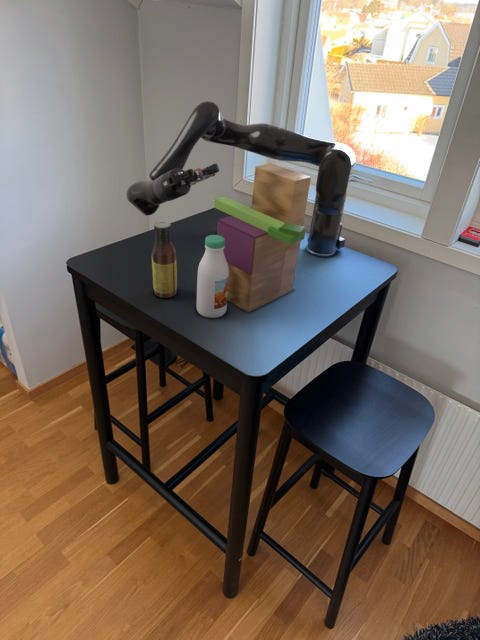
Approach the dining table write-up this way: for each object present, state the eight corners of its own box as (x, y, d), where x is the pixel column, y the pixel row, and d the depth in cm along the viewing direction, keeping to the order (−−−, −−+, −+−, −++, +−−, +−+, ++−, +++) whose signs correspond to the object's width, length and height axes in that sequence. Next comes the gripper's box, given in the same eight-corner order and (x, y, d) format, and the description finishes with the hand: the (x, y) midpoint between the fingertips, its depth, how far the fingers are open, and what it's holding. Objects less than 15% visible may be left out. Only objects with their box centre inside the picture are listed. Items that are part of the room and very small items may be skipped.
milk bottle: (202, 321, 115) (205, 247, 104) (192, 304, 121) (193, 233, 110) (231, 315, 118) (236, 243, 107) (220, 300, 124) (224, 229, 113)
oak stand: (213, 292, 127) (220, 174, 109) (258, 272, 138) (271, 162, 120) (248, 312, 120) (260, 190, 102) (292, 290, 131) (311, 176, 113)
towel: (215, 256, 121) (217, 219, 115) (248, 244, 128) (251, 209, 122) (250, 275, 114) (254, 237, 108) (282, 261, 121) (287, 225, 116)
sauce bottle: (164, 284, 128) (163, 216, 117) (182, 292, 125) (182, 223, 114) (147, 293, 124) (144, 223, 113) (165, 302, 121) (163, 231, 110)
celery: (211, 208, 121) (211, 198, 119) (227, 204, 124) (227, 193, 123) (292, 246, 106) (293, 234, 104) (307, 239, 109) (309, 228, 108)
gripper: (146, 176, 128) (179, 159, 116) (186, 168, 137) (221, 151, 125) (155, 203, 130) (188, 189, 117) (194, 193, 138) (229, 179, 126)
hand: (205, 170), depth 121 cm, fingers open, 8 cm apart
